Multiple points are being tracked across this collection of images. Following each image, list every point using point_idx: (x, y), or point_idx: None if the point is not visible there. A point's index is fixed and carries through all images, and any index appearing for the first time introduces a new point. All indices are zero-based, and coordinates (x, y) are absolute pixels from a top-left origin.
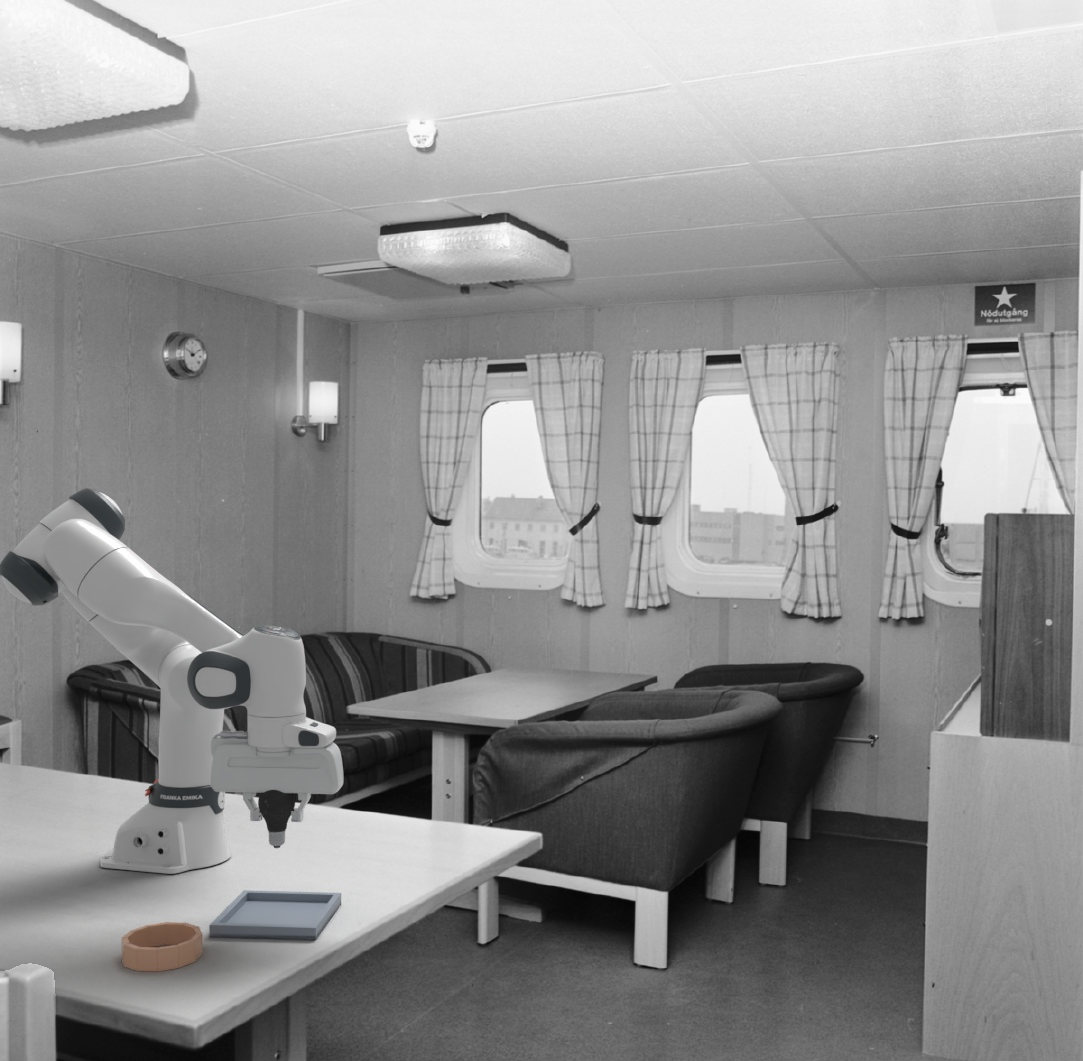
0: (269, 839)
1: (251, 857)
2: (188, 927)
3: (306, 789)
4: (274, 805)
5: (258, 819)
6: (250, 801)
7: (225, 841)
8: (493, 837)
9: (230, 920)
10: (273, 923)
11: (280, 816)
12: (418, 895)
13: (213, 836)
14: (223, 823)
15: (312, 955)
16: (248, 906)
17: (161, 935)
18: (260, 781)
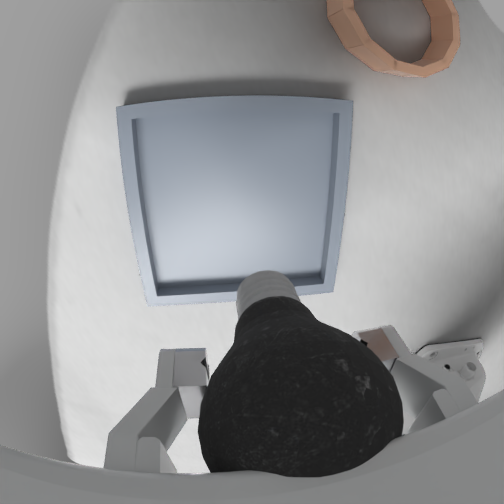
0: (292, 287)
1: None
2: (381, 48)
3: (81, 487)
4: (296, 369)
5: (361, 331)
6: (427, 387)
7: None
8: (101, 462)
9: (325, 169)
10: (233, 160)
11: (250, 337)
12: (60, 336)
13: None
14: None
15: (108, 33)
16: (310, 245)
17: (416, 64)
18: (439, 488)
